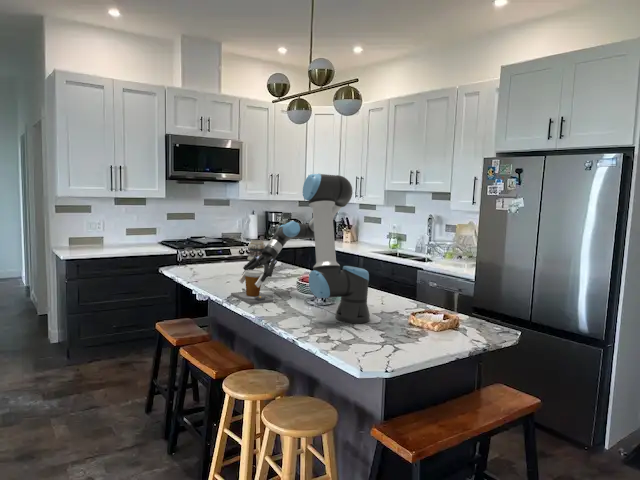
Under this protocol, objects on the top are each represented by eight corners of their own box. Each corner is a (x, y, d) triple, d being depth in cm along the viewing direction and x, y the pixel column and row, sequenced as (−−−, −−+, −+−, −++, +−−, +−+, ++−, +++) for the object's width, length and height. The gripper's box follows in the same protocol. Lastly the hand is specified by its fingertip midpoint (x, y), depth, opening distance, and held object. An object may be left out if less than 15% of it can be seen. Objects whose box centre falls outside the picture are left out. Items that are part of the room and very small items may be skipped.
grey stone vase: (258, 264, 335) (260, 239, 333) (268, 267, 326) (269, 241, 324) (243, 266, 328) (244, 239, 326) (253, 269, 319) (254, 242, 317)
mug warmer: (231, 295, 244) (231, 289, 243) (253, 293, 251) (253, 287, 251) (250, 304, 228) (250, 298, 228) (273, 301, 236) (274, 295, 235)
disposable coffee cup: (258, 298, 234) (260, 274, 233) (240, 295, 236) (241, 271, 234) (264, 294, 243) (266, 270, 242) (247, 292, 245) (248, 268, 244)
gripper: (292, 258, 243) (269, 292, 232) (259, 251, 256) (236, 284, 246) (285, 248, 238) (262, 283, 227) (252, 242, 252) (228, 275, 241)
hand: (248, 283), depth 236 cm, fingers open, 11 cm apart
